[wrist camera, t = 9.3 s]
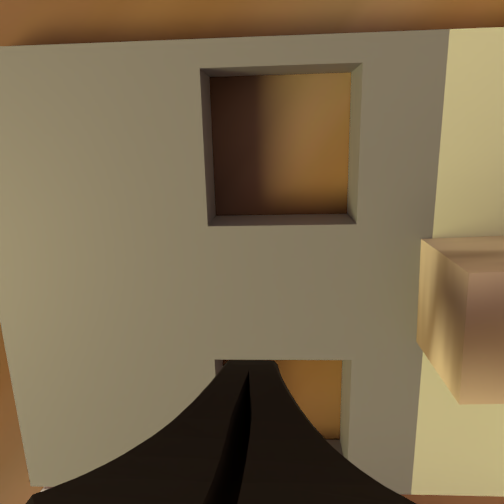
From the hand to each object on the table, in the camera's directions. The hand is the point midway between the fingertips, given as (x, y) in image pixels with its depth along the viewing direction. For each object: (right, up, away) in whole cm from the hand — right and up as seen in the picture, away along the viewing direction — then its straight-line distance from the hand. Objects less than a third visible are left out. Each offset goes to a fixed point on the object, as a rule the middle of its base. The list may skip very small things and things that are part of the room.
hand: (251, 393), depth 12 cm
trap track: (+1, +3, +9) cm, 9 cm away
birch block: (+9, +2, +6) cm, 11 cm away
